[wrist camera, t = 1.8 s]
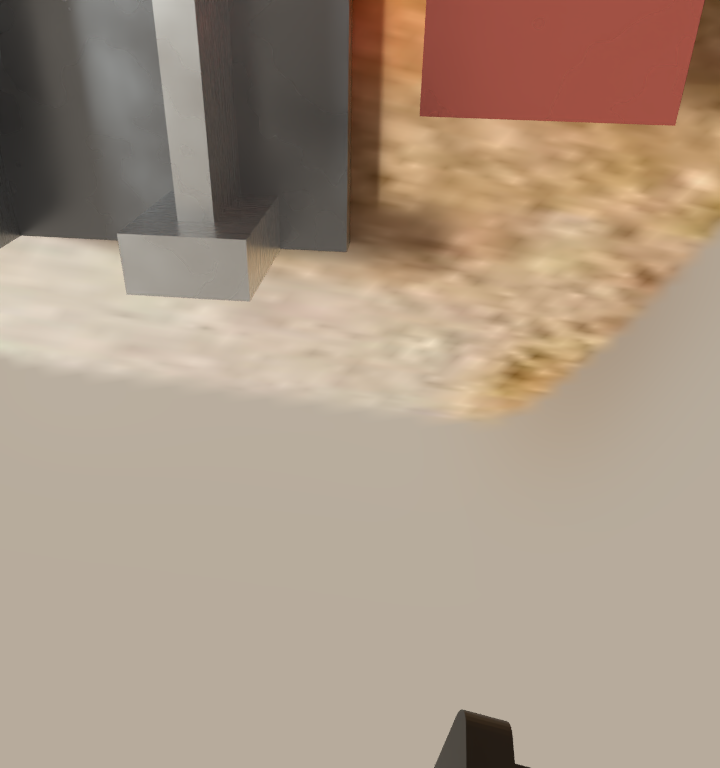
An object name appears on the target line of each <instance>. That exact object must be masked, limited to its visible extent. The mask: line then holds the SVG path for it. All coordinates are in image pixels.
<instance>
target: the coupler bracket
mask: <svg viewBox="0 0 720 768" xmlns="http://www.w3.org/2000/svg"><path fill="white" fill-rule="evenodd" d="M351 80H352V0H0V248H1V247H3V246H5V245H6V244H8V243H10V242H11V241H13V240H15V239H16V238H18V237H19V236H21V235H24V236H44V237H63V238H83V239H102V240H118V243H119V250H120V256H121V262H122V268H123V274H124V280H125V287H126V293H127V294H128V295H146V296H163V297H181V298H199V299H216V300H234V301H251V299H252V297H253V295H254V294H255V292H256V290H257V289H258V287H259V285H260V283H261V282H262V280H263V278H264V277H265V275H266V273H267V271H268V270H269V268H270V266H271V265H272V263H273V261H274V259H275V258H276V256H277V254H278V253H279V251H280V249H297V250H317V251H336V252H347V249H348V246H349V243H350V163H351Z"/></svg>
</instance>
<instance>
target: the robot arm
mask: <svg viewBox="0 0 720 768" xmlns="http://www.w3.org/2000/svg"><path fill="white" fill-rule="evenodd" d="M434 768H529V767H525V766H522V765H518V764H515V761H514V750H513V737H512V730H511V726H510V724H509V722H507V721H504V720H499V719H496V718H491V717H488V716H485V715H481V714H477V713H473V712H470V711H466V710H460V711H459V712H458V714H457V716H456V718H455V720H454V723H453V725H452V727H451V730H450V732H449V735H448V737H447V739H446V741H445V744H444V746H443V748H442V751H441V753H440V755H439V758H438V760H437V762H436V765H435V767H434Z"/></svg>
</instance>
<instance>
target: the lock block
mask: <svg viewBox="0 0 720 768" xmlns="http://www.w3.org/2000/svg"><path fill="white" fill-rule="evenodd" d="M704 1H705V0H427V1H426V18H425V35H424V52H423V69H422V85H421V102H420V116H429V117H456V118H483V119H511V120H538V121H565V122H593V123H620V124H647V125H675V124H676V119H677V115H678V111H679V107H680V102H681V98H682V94H683V90H684V86H685V81H686V77H687V73H688V69H689V65H690V60H691V56H692V52H693V48H694V43H695V39H696V35H697V31H698V27H699V22H700V18H701V14H702V10H703V6H704Z"/></svg>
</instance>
